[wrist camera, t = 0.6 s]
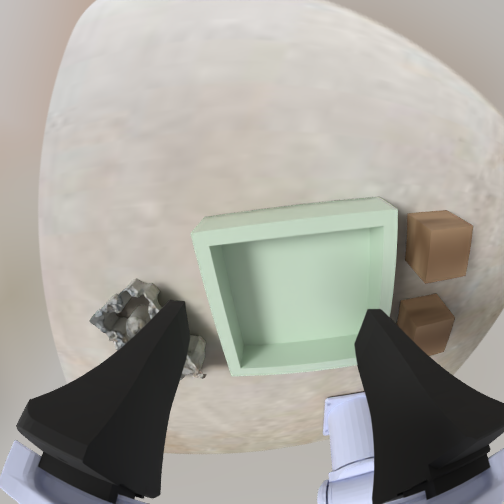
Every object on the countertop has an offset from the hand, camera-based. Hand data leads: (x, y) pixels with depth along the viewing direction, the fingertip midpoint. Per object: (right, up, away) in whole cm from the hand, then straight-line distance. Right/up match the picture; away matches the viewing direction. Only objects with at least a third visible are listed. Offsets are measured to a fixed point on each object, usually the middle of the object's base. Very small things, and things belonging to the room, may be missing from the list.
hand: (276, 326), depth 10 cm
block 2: (+15, -3, +12) cm, 19 cm away
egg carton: (-10, -4, +15) cm, 19 cm away
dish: (+3, 0, +11) cm, 12 cm away
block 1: (+13, +4, +9) cm, 16 cm away
